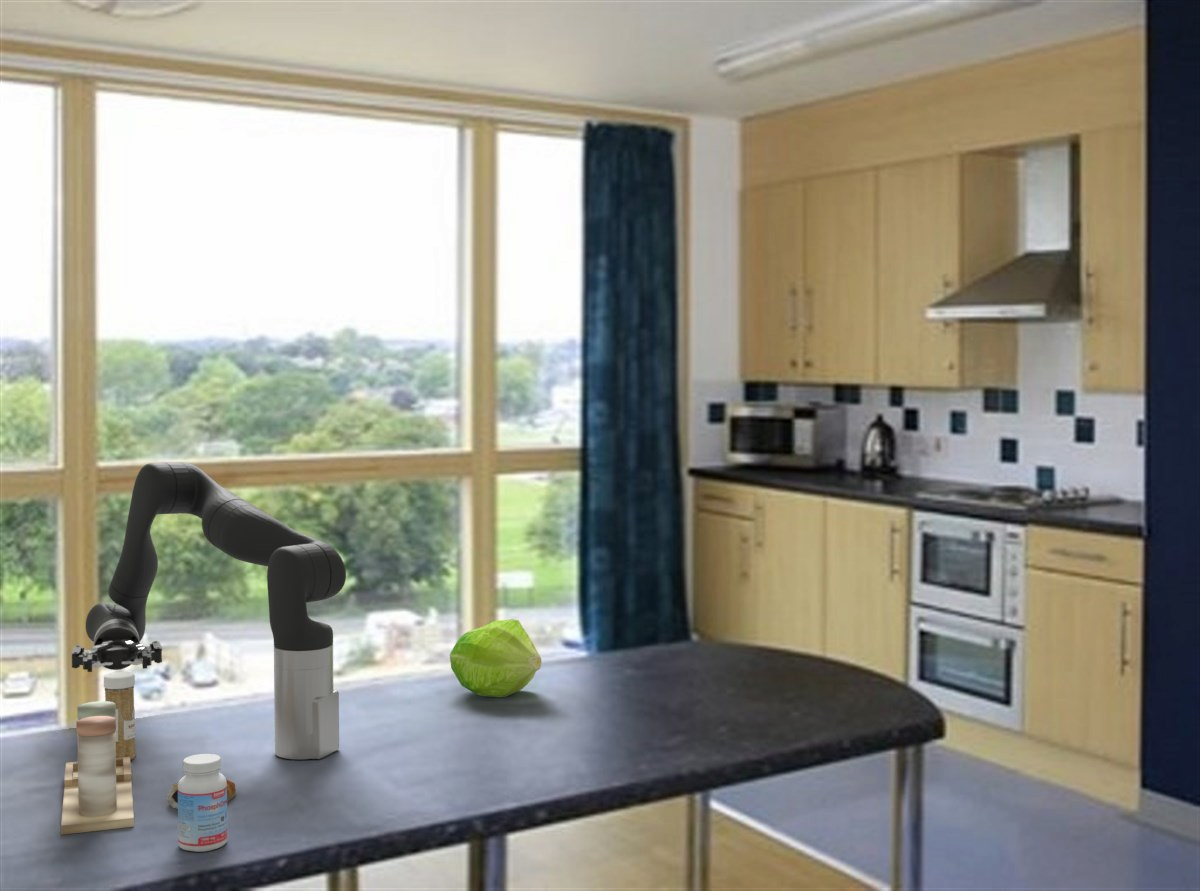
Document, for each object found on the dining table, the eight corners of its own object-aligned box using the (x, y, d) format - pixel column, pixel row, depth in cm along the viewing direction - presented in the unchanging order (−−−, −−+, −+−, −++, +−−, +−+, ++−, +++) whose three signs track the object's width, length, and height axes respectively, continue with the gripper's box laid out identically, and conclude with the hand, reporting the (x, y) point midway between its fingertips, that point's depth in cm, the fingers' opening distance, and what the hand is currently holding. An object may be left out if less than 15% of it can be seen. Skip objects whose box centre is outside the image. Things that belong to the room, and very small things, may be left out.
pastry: (216, 789, 193) (215, 763, 193) (248, 798, 190) (247, 772, 189) (162, 807, 185) (162, 780, 185) (194, 816, 182) (194, 789, 181)
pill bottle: (205, 856, 166) (204, 768, 166) (168, 848, 169) (166, 762, 168) (237, 840, 172) (236, 755, 171) (201, 833, 174) (199, 749, 174)
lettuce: (516, 713, 236) (494, 642, 235) (446, 709, 251) (425, 642, 249) (571, 679, 247) (551, 610, 245) (501, 677, 261) (481, 613, 259)
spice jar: (139, 760, 207) (138, 674, 206) (109, 764, 204) (107, 678, 203) (132, 752, 210) (130, 669, 210) (102, 757, 208) (100, 672, 207)
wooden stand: (66, 777, 198) (64, 687, 197) (130, 770, 201) (128, 682, 200) (61, 834, 174) (59, 732, 173) (133, 826, 177) (132, 726, 176)
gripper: (72, 624, 230) (70, 644, 214) (159, 620, 235) (163, 639, 219) (73, 667, 230) (71, 689, 215) (159, 661, 235) (163, 683, 220)
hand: (117, 664), depth 217 cm, fingers open, 8 cm apart
